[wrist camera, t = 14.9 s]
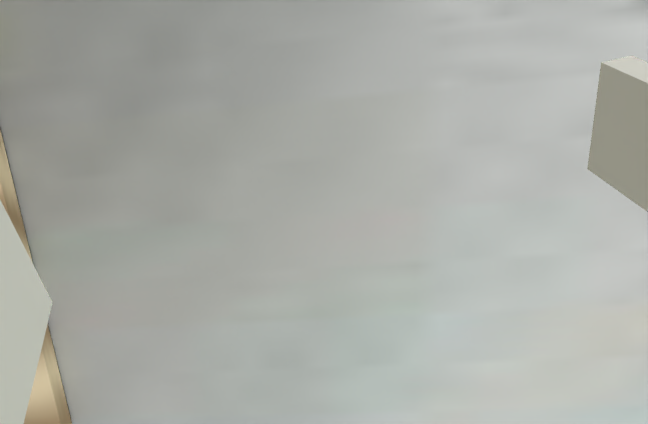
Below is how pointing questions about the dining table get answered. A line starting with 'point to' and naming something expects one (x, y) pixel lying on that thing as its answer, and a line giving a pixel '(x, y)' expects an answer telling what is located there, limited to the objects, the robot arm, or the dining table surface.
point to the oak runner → (47, 392)
